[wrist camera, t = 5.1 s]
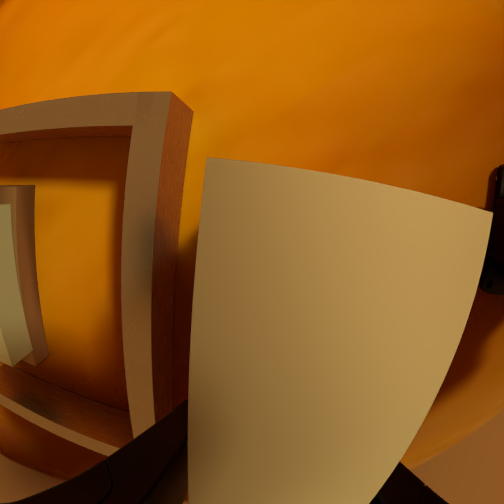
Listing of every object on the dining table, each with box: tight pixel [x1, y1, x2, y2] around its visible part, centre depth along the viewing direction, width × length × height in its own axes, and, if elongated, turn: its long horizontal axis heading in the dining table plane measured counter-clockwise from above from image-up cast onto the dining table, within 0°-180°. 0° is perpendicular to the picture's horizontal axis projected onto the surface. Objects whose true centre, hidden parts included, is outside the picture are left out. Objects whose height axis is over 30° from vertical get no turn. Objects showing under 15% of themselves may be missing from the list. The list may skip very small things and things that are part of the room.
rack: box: [0, 92, 193, 456], centre depth 12 cm, size 13×17×3 cm
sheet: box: [188, 157, 493, 504], centre depth 9 cm, size 3×12×10 cm, turn 173°
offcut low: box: [0, 185, 49, 367], centre depth 14 cm, size 4×10×2 cm, turn 174°
